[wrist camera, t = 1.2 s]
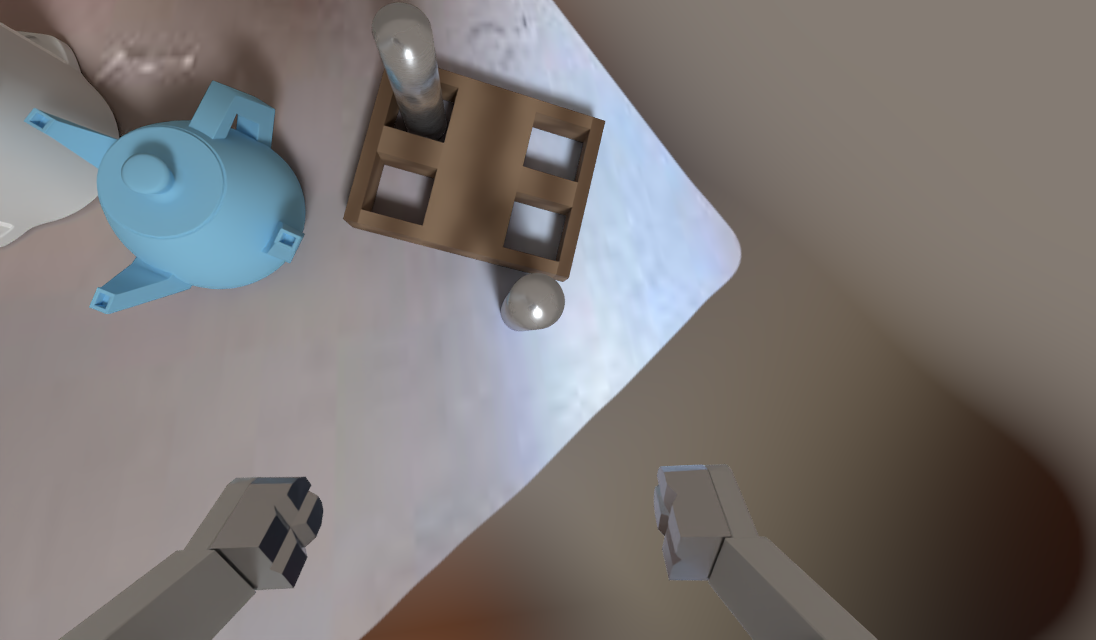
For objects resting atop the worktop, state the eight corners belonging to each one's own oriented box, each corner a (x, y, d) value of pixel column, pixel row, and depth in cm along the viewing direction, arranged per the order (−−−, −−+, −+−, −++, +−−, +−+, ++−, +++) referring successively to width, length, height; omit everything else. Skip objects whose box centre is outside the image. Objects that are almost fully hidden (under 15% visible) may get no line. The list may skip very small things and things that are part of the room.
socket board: (352, 227, 41) (343, 218, 38) (395, 71, 43) (388, 52, 40) (562, 281, 44) (568, 277, 41) (597, 135, 45) (605, 120, 42)
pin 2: (496, 326, 43) (502, 321, 30) (505, 287, 43) (516, 266, 31) (535, 335, 44) (557, 335, 31) (544, 297, 44) (570, 280, 31)
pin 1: (400, 135, 42) (365, 47, 30) (410, 97, 43) (380, -6, 30) (441, 147, 43) (423, 66, 30) (450, 109, 43) (438, 13, 30)
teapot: (343, 272, 41) (295, 250, 31) (173, 321, 39) (57, 316, 28) (292, 119, 41) (226, 43, 30) (118, 159, 39) (-19, 92, 28)
